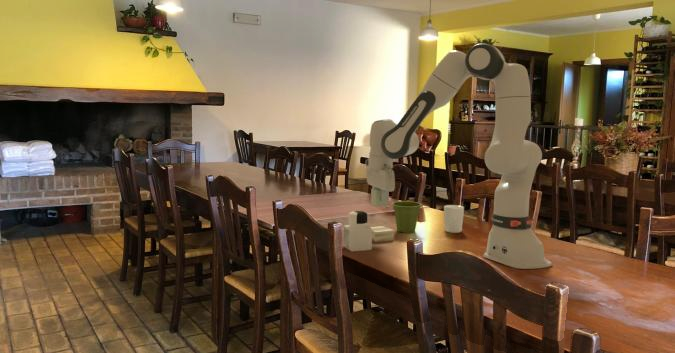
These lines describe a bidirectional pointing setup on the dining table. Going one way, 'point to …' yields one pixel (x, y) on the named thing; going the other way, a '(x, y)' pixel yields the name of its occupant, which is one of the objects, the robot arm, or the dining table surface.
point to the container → (357, 232)
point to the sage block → (378, 198)
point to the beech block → (382, 234)
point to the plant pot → (406, 215)
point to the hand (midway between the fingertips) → (379, 199)
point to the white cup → (453, 218)
